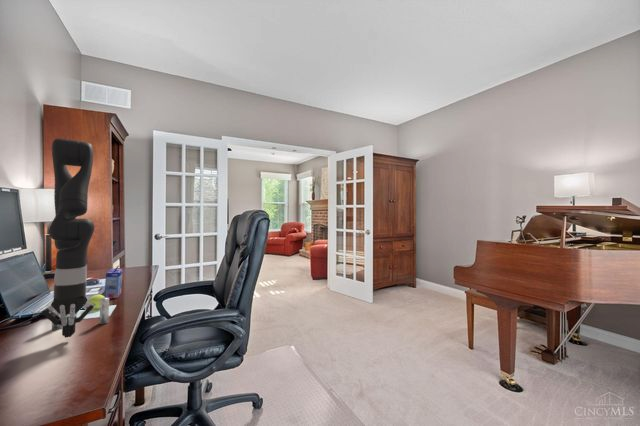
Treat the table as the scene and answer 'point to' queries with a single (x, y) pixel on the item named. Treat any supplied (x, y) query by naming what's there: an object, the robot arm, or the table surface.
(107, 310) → the post
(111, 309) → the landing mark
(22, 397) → the table surface
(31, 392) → the table surface
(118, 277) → the ink cartridge box
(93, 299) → the ball
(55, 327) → the post
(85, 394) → the table surface
